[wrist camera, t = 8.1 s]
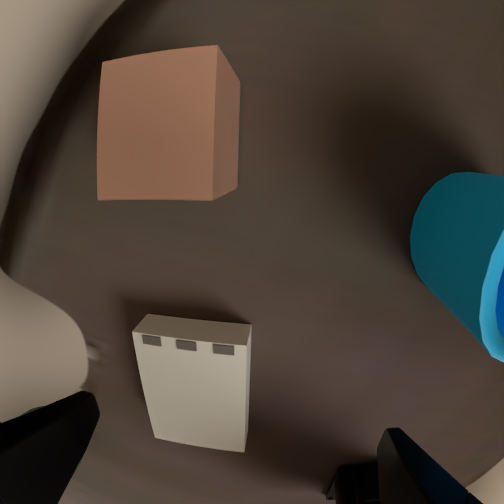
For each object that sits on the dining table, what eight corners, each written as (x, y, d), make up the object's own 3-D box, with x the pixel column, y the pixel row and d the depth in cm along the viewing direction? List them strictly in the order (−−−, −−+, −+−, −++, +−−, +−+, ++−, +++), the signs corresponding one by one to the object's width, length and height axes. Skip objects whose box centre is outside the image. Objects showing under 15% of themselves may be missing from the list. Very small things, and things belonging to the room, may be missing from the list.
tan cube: (237, 189, 17) (212, 202, 11) (153, 188, 18) (98, 201, 12) (240, 82, 15) (217, 45, 10) (155, 87, 16) (102, 62, 10)
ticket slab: (248, 429, 22) (244, 453, 20) (164, 417, 23) (154, 438, 20) (251, 324, 19) (246, 346, 17) (147, 313, 20) (131, 332, 18)
